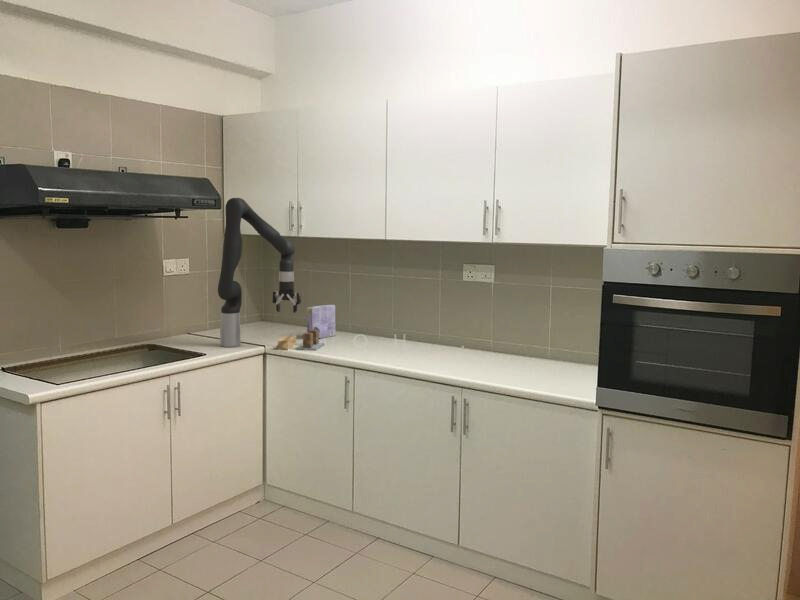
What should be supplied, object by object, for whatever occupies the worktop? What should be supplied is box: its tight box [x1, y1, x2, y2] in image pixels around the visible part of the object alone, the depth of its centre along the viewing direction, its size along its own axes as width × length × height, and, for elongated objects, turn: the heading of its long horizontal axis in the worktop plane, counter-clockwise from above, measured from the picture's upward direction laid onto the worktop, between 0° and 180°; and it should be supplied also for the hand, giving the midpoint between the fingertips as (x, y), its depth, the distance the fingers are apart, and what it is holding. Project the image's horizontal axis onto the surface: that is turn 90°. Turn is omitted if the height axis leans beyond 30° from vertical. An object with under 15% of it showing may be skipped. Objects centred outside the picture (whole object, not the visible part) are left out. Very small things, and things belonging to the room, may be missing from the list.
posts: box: [302, 330, 320, 348], centre depth 329 cm, size 4×13×7 cm, turn 169°
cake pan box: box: [306, 304, 337, 339], centre depth 356 cm, size 19×5×18 cm, turn 141°
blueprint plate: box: [296, 342, 326, 351], centre depth 329 cm, size 10×14×1 cm
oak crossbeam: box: [277, 334, 297, 351], centre depth 329 cm, size 5×15×5 cm, turn 173°
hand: (286, 312), depth 327 cm, fingers open, 8 cm apart
